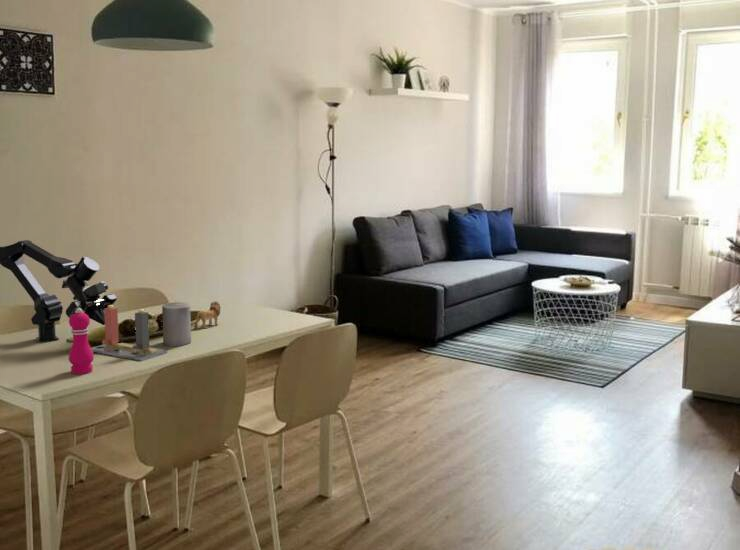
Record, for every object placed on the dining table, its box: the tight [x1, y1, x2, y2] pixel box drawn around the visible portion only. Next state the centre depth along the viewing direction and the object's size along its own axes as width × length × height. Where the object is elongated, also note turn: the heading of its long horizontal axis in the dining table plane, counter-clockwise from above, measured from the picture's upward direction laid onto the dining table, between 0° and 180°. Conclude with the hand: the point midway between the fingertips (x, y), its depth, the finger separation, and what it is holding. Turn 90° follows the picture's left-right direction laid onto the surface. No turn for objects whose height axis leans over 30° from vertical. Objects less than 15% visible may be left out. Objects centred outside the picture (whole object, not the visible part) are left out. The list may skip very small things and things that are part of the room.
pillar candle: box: [161, 301, 192, 347], centre depth 285 cm, size 10×10×15 cm
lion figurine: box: [193, 300, 221, 330], centre depth 311 cm, size 15×5×9 cm, turn 156°
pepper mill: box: [68, 308, 95, 375], centre depth 247 cm, size 7×7×20 cm
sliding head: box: [101, 304, 120, 348], centre depth 275 cm, size 3×5×14 cm, turn 151°
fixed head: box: [133, 309, 150, 353], centre depth 268 cm, size 3×5×14 cm, turn 151°
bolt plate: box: [91, 342, 168, 362], centre depth 272 cm, size 24×12×2 cm, turn 61°
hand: (105, 324), depth 277 cm, fingers closed
